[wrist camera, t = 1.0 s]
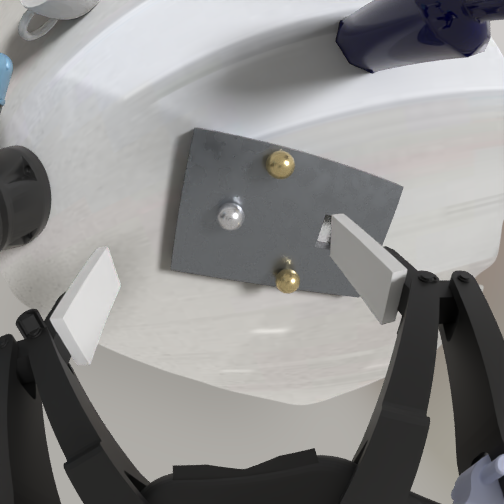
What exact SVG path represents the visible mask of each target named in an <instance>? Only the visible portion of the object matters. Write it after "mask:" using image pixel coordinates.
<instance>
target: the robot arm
mask: <svg viewBox="0 0 504 504" xmlns="http://www.w3.org/2000/svg"><path fill="white" fill-rule="evenodd" d="M12 72H13V64H12V61H11V59H10V58H9V57H8V56H7V55H5V54H3V53H0V113H1V110H2V106H4V104H5V100H4V99H5V95H6V92H7V88H8V85H9V82H10V78H11V75H12ZM50 209H51V191H50V184H49V180H48V177H47V174H46V171H45V169H44V167H43V165H42V163H41V161H40V160H39V159H38V157H37V156H36V155H35V154H34V153H33V152H32V151H30V150H29V149H27V148H25V147H23V146H10V147H6V148H3V149H0V251H1V250H5V249H10V248H14V247H18V246H23V245H25V244H27V243H29V242H30V241H32V240H33V239H34V238H35V237H37V236H38V235H39V234H40V233H41V232H42V230H43V229H44V227H45V226H46V223H47V221H48V218H49V214H50ZM330 257H331V258H332V260H333V261H334V262H335V263H336V265H337V266H338V267H339V269H340V270H341V271H342V272H343V274H344V275H345V276H346V278H347V279H348V280H349V282H350V283H351V284H352V286H353V287H354V288H355V290H356V291H357V292H358V294H359V295H360V296H361V298H362V299H363V300H364V302H365V303H366V304H367V306H368V307H369V309H370V310H371V311H372V313H373V314H374V315H375V317H376V318H377V320H378V321H379V322H380V324H381V325H383V324H386V323H390V322H393V321H395V319H396V315H397V312H398V311H399V312H400V314H401V315H402V318H401V322H400V325H399V328H398V331H397V338H396V342H395V346H394V350H393V353H392V357H391V361H390V364H389V367H388V371H387V374H386V377H385V380H384V383H383V386H382V389H381V392H380V395H379V398H378V401H377V404H376V407H375V409H374V412H373V415H372V417H371V420H370V423H369V425H368V427H367V430H366V432H365V435H364V437H363V440H362V442H361V444H360V446H359V448H358V450H357V452H356V454H355V456H354V458H353V460H352V462H351V461H349V460H346V459H343V458H339V457H334V456H325V455H316V451H315V449H314V448H313V449H310V450H305V451H301V452H296V453H292V454H287V455H282V456H278V457H276V458H273V459H271V460H269V461H266V462H264V463H261V464H259V465H256V466H253V467H250V468H248V469H234V468H226V467H218V466H212V465H186V466H185V465H184V466H183V465H182V466H173V473H172V474H168V475H166V476H163V477H160V478H158V479H156V480H155V481H153V482H151V483H150V482H149V481H148V480H147V479H146V478H145V477H143V476H142V475H141V474H140V472H139V471H138V470H137V469H136V468H135V466H134V465H133V464H132V462H131V461H130V460H129V458H128V457H127V456H126V455H125V453H124V452H123V451H122V449H121V448H120V446H119V445H118V444H117V442H116V441H115V439H114V438H113V436H112V435H111V433H110V432H109V431H108V429H107V428H106V426H105V424H104V423H103V421H102V420H101V418H100V417H99V415H98V413H97V412H96V410H95V409H94V407H93V405H92V403H91V402H90V400H89V398H88V396H87V395H86V393H85V391H84V389H83V387H82V386H81V384H80V382H79V380H78V378H77V376H76V374H75V372H74V370H73V368H72V367H71V365H70V364H69V360H70V358H71V357H72V358H73V360H74V361H75V363H76V364H77V365H90V364H91V361H92V358H93V355H94V353H95V350H96V347H97V344H98V342H99V339H100V336H101V334H102V331H103V328H104V326H105V323H106V321H107V318H108V316H109V313H110V311H111V308H112V306H113V303H114V301H115V299H116V296H117V294H118V292H119V289H120V287H121V284H120V281H119V278H118V275H117V272H116V269H115V266H114V263H113V260H112V257H111V254H110V251H109V248H108V246H104V247H98V248H96V250H95V251H94V252H93V254H92V255H91V257H90V258H89V259H88V261H87V262H86V264H85V265H84V266H83V268H82V269H81V271H80V272H79V274H78V275H77V276H76V278H75V279H74V281H73V282H72V284H71V285H70V287H69V288H68V290H67V291H66V292H65V293H63V294H62V295H61V296H60V297H59V298H58V300H57V301H56V303H55V305H54V306H53V308H52V310H51V311H50V312H49V314H48V316H47V317H46V319H45V321H43V319H42V317H41V315H40V313H39V312H38V310H37V309H30V310H28V311H25V312H24V313H23V314H22V315H20V316H19V317H18V319H17V321H16V326H17V328H18V329H19V331H20V333H21V334H22V336H23V337H24V340H21V341H17V342H16V340H15V339H14V337H13V336H12V335H11V334H6V335H4V336H1V337H0V504H61V502H60V499H59V495H58V492H57V488H56V484H55V480H54V477H53V472H52V468H51V463H50V458H49V453H48V447H47V441H46V435H45V428H44V420H43V410H42V403H43V406H44V408H45V411H46V414H47V416H48V419H49V421H50V424H51V426H52V428H53V431H54V433H55V436H56V438H57V440H58V442H59V444H60V447H61V449H62V451H63V453H64V455H65V457H66V459H67V462H66V463H64V469H65V471H66V473H67V475H68V477H69V479H70V481H71V483H72V485H73V486H74V488H75V490H76V492H77V493H78V495H79V497H80V498H81V500H82V501H83V503H84V504H440V503H437V502H435V501H432V500H430V499H428V498H425V497H423V496H420V495H418V494H415V493H413V492H411V491H410V490H411V487H412V484H413V481H414V478H415V476H416V473H417V470H418V466H419V463H420V460H421V456H422V453H423V449H424V446H425V442H426V438H427V433H428V430H429V425H430V418H429V417H427V416H426V414H427V408H428V403H429V398H430V392H431V387H432V381H433V374H434V367H435V358H436V350H437V339H438V327H439V331H440V335H441V340H442V344H443V349H444V354H445V359H446V364H447V369H448V375H449V381H450V388H451V394H452V403H453V411H454V422H455V437H456V455H457V466H458V471H459V477H458V479H457V481H456V482H455V486H454V489H453V490H452V493H451V496H452V499H453V500H454V501H453V504H504V340H503V337H502V334H501V332H500V329H499V327H498V325H497V322H496V321H495V318H494V316H493V313H492V311H491V309H490V307H489V305H488V303H487V301H486V299H485V297H484V295H483V293H482V291H481V289H480V287H479V285H478V283H477V281H476V280H475V278H474V277H473V276H472V275H471V274H469V273H468V272H466V271H455V272H453V273H452V276H451V279H450V281H439V278H438V277H437V276H436V275H435V274H433V273H431V272H428V271H417V270H416V269H415V268H414V267H413V266H412V265H411V264H410V263H408V262H407V261H406V260H405V259H404V258H403V257H402V256H400V255H399V254H398V253H397V252H396V251H395V250H393V249H391V248H389V247H387V246H385V247H382V246H381V245H380V244H379V243H378V242H377V241H375V240H374V239H373V238H372V237H371V236H370V235H369V234H367V233H366V232H365V231H364V230H363V229H361V228H360V227H359V226H358V225H357V224H355V223H354V222H353V221H352V220H351V219H349V218H348V217H347V216H346V215H345V214H334V215H332V217H331V248H330Z"/></svg>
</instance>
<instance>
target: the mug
mask: <svg viewBox="0 0 504 504" xmlns="http://www.w3.org/2000/svg"><path fill="white" fill-rule="evenodd" d="M99 1H100V0H20V2H21V4H22V5H23V6H24V7H25V8H27V9H28V10H27V11H26V12H25V13H24V14H23V16H22V18H21V20H20V22H19V26H18V31H19V35H20V36H21V38H23V39H24V40H36V39H38V38H40V37H41V36H43V35H45V34H46V33H47V32H48V31H49V30H50V29H51V28H52V27H53V26H54V25H55V24H56V22H57V21H58V19H62V20H70V19H75V18H78V17H80V16H83V15H85V14H86V13H88V12H89V11H90V10H91V9H92V8H93V7H95V6H96V5H97V3H98V2H99ZM35 13H37V14H40V15H43V16H46V17H49V19H48V21H47V22H46V23H45V24H44V25H42V26H41V27H40V28H39V29H37V30H36V31H33V32H28V31H27V27H28V24H29V22H30V20H31V18H32V17H33V16H34V14H35Z"/></svg>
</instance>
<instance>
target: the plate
mask: <svg viewBox="0 0 504 504" xmlns="http://www.w3.org/2000/svg"><path fill="white" fill-rule="evenodd" d="M275 151H285V152H287V153H289V154H290V155H291V156H292V157H293V159H294V162H295V169H294V172H293V173H292V174H291V176H289V177H288V178H286V179H275V178H273V177H272V176H270V174H269V173H268V172H267V169H266V160H267V158H268V156H269V155H270V154H272V153H273V152H275ZM402 190H403V186H400V185H398V184H396V183H394V182H391V181H389V180H386V179H383V178H381V177H378V176H376V175H373V174H370V173H367V172H365V171H362V170H359V169H356V168H353V167H350V166H347V165H344V164H341V163H338V162H335V161H332V160H329V159H326V158H322V157H319V156H316V155H312V154H309V153H306V152H302V151H299V150H295V149H291V148H288V147H284V146H280V145H276V144H272V143H268V142H264V141H260V140H256V139H252V138H247V137H243V136H238V135H233V134H229V133H224V132H219V131H213V130H208V129H203V128H195V129H194V134H193V138H192V143H191V148H190V153H189V158H188V163H187V168H186V173H185V178H184V184H183V189H182V195H181V201H180V207H179V213H178V220H177V226H176V233H175V240H174V248H173V256H172V264H171V270H175V271H181V272H187V273H192V274H198V275H205V276H211V277H217V278H223V279H229V280H236V281H242V282H249V283H256V284H262V285H269V286H276V283H275V280H276V276H277V274H278V273H279V272H280V271H281V270H283V269H292V270H294V271H296V272H297V273H298V275H299V277H300V285H299V287H298V288H297V290H305V291H312V292H320V293H327V294H335V295H343V296H351V297H359V296H360V295H359V294H358V292H357V291H356V290H355V288H354V287H353V286H352V284H351V283H350V282H349V280H348V279H347V278H346V276H345V275H344V274H343V272H342V271H341V270H340V269H339V267H338V266H337V265H336V263H335V262H334V261H333V260H332V258H331V257H330V248H331V244H329V243H324V242H319V241H317V239H318V236H319V233H320V230H321V227H322V224H323V221H324V218H325V215H330V216H332V215H334V214H345V215H346V216H347V217H348V218H349V219H351V220H352V221H353V222H354V223H355V224H357V225H358V226H359V227H360V228H361V229H363V230H364V231H365V232H366V233H367V234H369V235H370V236H371V237H372V238H373V239H374V240H375V241H377V242H378V243H379V244H380V245H381V246H382V244H383V242H384V239H385V237H386V234H387V232H388V229H389V227H390V224H391V221H392V219H393V216H394V213H395V210H396V208H397V205H398V202H399V199H400V196H401V193H402ZM226 203H235V204H237V205H239V206H240V207H241V208H242V209H243V211H244V215H245V219H244V222H243V224H242V226H241V227H240V228H238V229H237V230H234V231H227V230H224V229H222V228H221V227H220V226H219V224H218V223H217V219H216V215H217V211H218V209H219V208H220V207H221V206H222V205H224V204H226ZM276 287H277V286H276Z"/></svg>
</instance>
